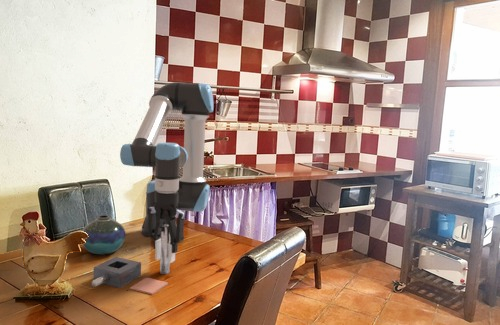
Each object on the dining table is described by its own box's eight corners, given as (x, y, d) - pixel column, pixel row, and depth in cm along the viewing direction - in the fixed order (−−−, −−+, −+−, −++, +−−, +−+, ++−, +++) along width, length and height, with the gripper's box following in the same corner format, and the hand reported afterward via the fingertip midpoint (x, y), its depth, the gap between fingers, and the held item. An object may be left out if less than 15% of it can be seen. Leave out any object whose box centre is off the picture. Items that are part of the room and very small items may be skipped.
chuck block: (116, 269, 130) (116, 256, 130) (140, 275, 127) (141, 262, 126) (81, 287, 116) (81, 273, 116) (107, 294, 113) (107, 280, 112)
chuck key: (166, 268, 134) (167, 222, 132) (173, 269, 133) (175, 223, 131) (155, 274, 128) (156, 227, 126) (162, 276, 127) (164, 228, 125)
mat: (146, 278, 124) (146, 277, 124) (168, 284, 122) (168, 282, 121) (130, 288, 117) (130, 287, 117) (152, 294, 114) (152, 293, 114)
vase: (99, 242, 155) (99, 209, 154) (133, 247, 151) (133, 214, 149) (71, 255, 141) (71, 219, 139) (108, 261, 136) (108, 224, 135)
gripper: (136, 189, 126) (135, 259, 129) (184, 196, 120) (181, 269, 123) (151, 185, 133) (149, 251, 136) (196, 192, 127) (194, 261, 130)
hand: (165, 260), depth 130 cm, fingers open, 4 cm apart
